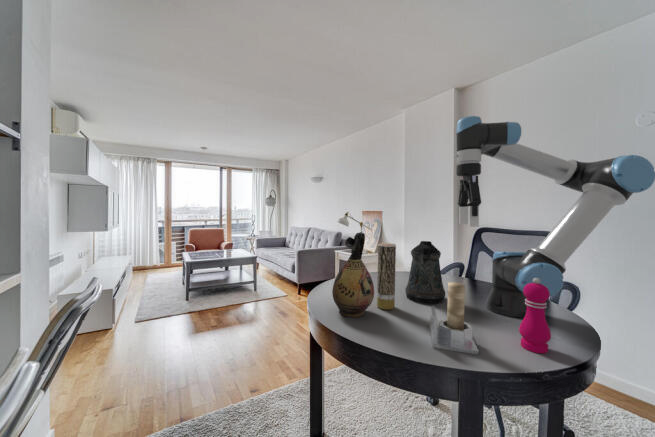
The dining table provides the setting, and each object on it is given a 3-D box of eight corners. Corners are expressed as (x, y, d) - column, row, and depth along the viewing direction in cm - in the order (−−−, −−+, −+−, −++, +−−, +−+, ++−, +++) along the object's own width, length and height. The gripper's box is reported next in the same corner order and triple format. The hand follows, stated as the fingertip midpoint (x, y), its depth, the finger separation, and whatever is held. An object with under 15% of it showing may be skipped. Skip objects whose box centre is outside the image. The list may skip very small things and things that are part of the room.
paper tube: (393, 304, 114) (394, 243, 113) (395, 310, 107) (397, 245, 106) (376, 304, 115) (377, 243, 114) (377, 310, 108) (378, 245, 107)
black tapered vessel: (433, 292, 132) (434, 239, 131) (457, 306, 113) (459, 244, 112) (399, 293, 130) (400, 239, 129) (418, 307, 111) (419, 244, 110)
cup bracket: (469, 335, 87) (470, 309, 87) (478, 354, 75) (479, 325, 75) (430, 330, 90) (430, 305, 90) (432, 347, 79) (433, 319, 78)
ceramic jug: (364, 324, 94) (366, 235, 93) (324, 315, 102) (325, 232, 101) (380, 308, 109) (382, 232, 108) (345, 302, 116) (346, 230, 115)
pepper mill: (512, 342, 83) (515, 274, 82) (535, 341, 83) (538, 274, 83) (532, 355, 75) (535, 281, 75) (557, 354, 76) (560, 281, 75)
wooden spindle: (462, 335, 84) (463, 283, 83) (464, 342, 80) (466, 287, 79) (445, 333, 85) (447, 281, 84) (447, 340, 81) (448, 286, 80)
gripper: (449, 169, 109) (449, 223, 110) (465, 158, 85) (465, 227, 86) (470, 168, 108) (470, 223, 108) (493, 156, 83) (492, 227, 84)
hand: (468, 225), depth 97 cm, fingers open, 13 cm apart
